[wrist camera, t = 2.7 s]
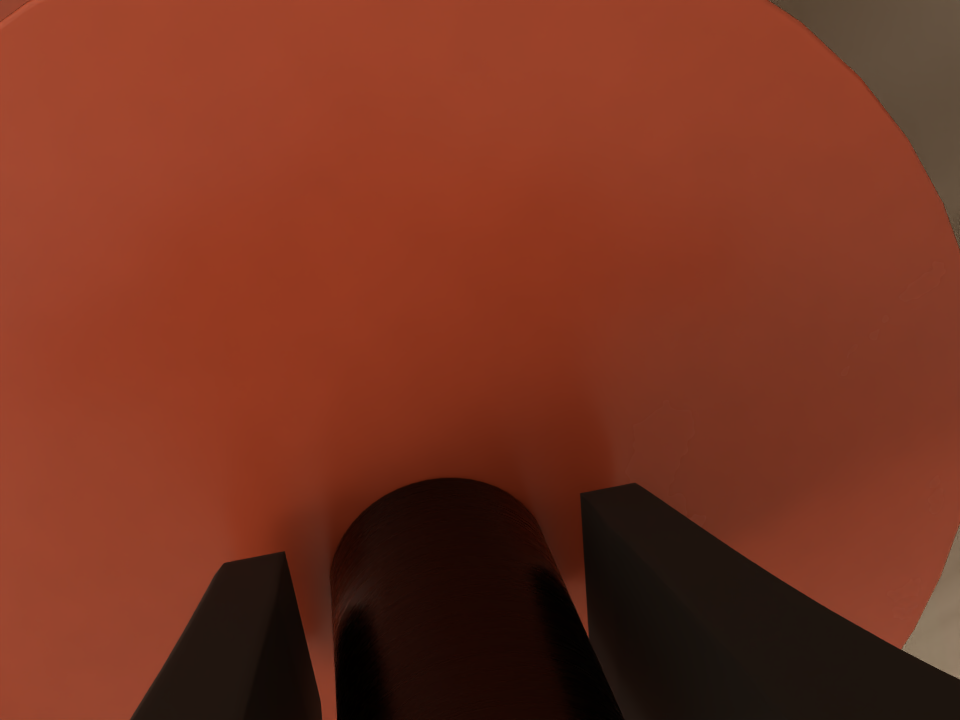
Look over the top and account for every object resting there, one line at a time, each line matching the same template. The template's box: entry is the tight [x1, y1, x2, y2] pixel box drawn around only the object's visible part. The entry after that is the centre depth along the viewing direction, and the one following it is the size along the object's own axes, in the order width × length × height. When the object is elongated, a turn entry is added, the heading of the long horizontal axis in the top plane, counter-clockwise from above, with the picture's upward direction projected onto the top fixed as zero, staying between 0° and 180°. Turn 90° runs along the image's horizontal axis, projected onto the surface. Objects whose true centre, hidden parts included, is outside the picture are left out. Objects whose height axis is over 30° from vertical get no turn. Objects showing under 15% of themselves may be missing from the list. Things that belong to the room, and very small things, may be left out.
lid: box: [0, 0, 960, 720], centre depth 8 cm, size 13×13×4 cm
